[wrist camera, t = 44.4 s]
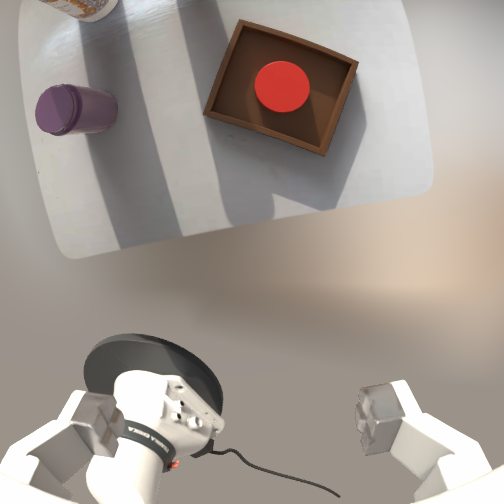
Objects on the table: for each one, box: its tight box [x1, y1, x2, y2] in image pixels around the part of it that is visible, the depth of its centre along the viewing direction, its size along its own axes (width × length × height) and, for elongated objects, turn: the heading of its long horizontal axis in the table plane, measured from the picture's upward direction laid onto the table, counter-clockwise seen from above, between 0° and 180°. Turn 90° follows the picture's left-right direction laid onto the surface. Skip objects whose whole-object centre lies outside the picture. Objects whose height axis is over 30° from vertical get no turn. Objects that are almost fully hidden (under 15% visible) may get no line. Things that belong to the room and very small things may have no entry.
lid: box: [254, 61, 310, 114], centre depth 32 cm, size 6×6×2 cm
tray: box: [203, 19, 359, 156], centre depth 32 cm, size 14×12×2 cm
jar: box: [35, 84, 118, 136], centre depth 29 cm, size 6×6×11 cm
